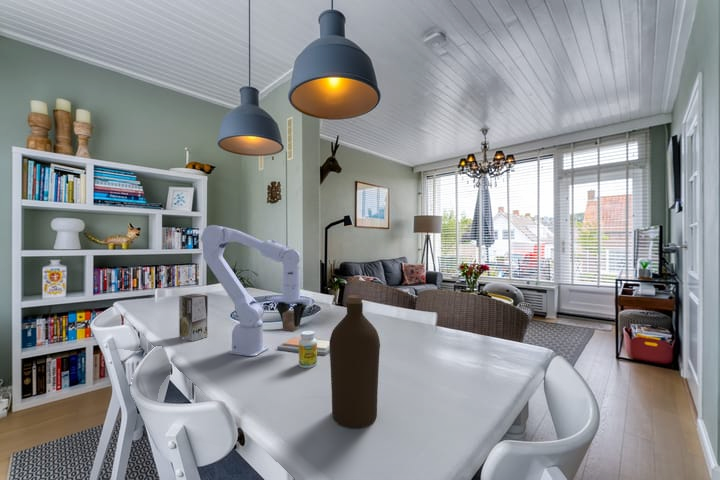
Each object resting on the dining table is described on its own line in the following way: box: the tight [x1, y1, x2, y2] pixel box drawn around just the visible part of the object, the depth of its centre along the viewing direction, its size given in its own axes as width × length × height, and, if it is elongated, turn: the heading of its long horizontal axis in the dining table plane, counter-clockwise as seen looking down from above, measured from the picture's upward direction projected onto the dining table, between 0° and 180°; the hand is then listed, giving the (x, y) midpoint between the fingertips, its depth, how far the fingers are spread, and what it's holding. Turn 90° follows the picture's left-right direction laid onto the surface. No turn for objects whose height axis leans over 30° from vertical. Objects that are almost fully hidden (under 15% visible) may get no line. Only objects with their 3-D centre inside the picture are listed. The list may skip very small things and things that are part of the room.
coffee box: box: [178, 293, 209, 342], centre depth 117 cm, size 9×6×16 cm
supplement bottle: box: [298, 330, 318, 369], centre depth 91 cm, size 5×5×10 cm
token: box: [282, 309, 300, 333], centre depth 103 cm, size 4×4×6 cm
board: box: [276, 336, 330, 356], centre depth 107 cm, size 18×11×2 cm, turn 72°
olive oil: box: [329, 294, 381, 429], centre depth 65 cm, size 11×11×25 cm
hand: (291, 325), depth 104 cm, fingers closed on token, 4 cm apart
